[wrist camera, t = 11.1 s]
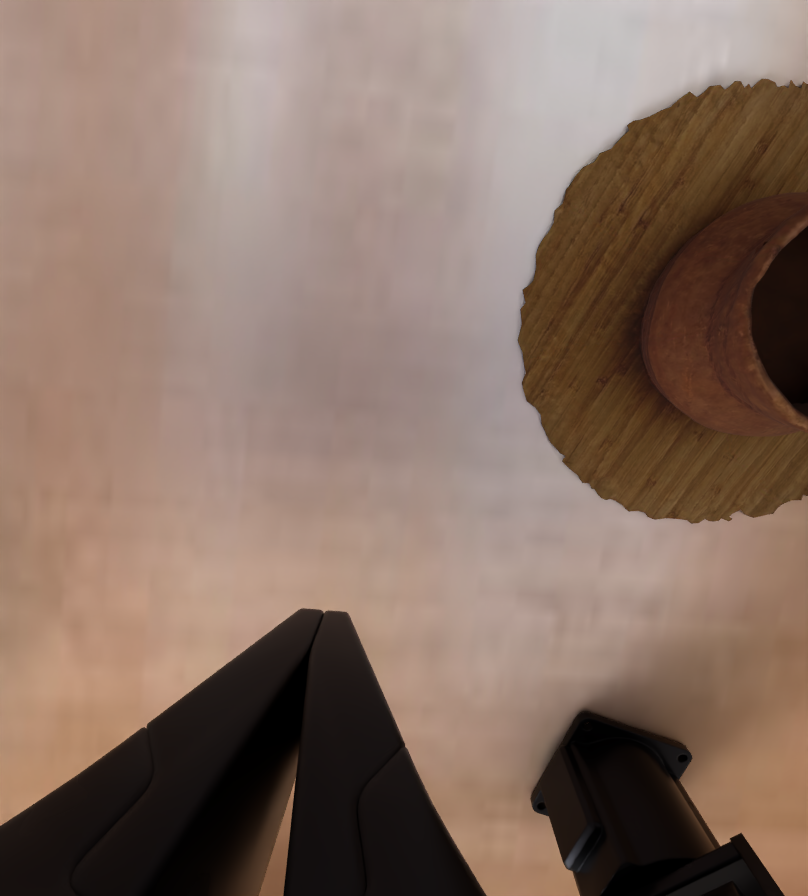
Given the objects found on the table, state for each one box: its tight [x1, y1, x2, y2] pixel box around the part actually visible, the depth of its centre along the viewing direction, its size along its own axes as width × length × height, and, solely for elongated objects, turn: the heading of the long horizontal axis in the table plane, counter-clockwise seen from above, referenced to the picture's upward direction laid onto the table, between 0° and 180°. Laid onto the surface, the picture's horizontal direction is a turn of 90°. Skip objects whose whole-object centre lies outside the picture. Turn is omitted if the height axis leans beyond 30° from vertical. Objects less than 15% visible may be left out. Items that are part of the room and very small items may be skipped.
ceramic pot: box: [518, 79, 808, 523], centre depth 16 cm, size 18×18×7 cm
